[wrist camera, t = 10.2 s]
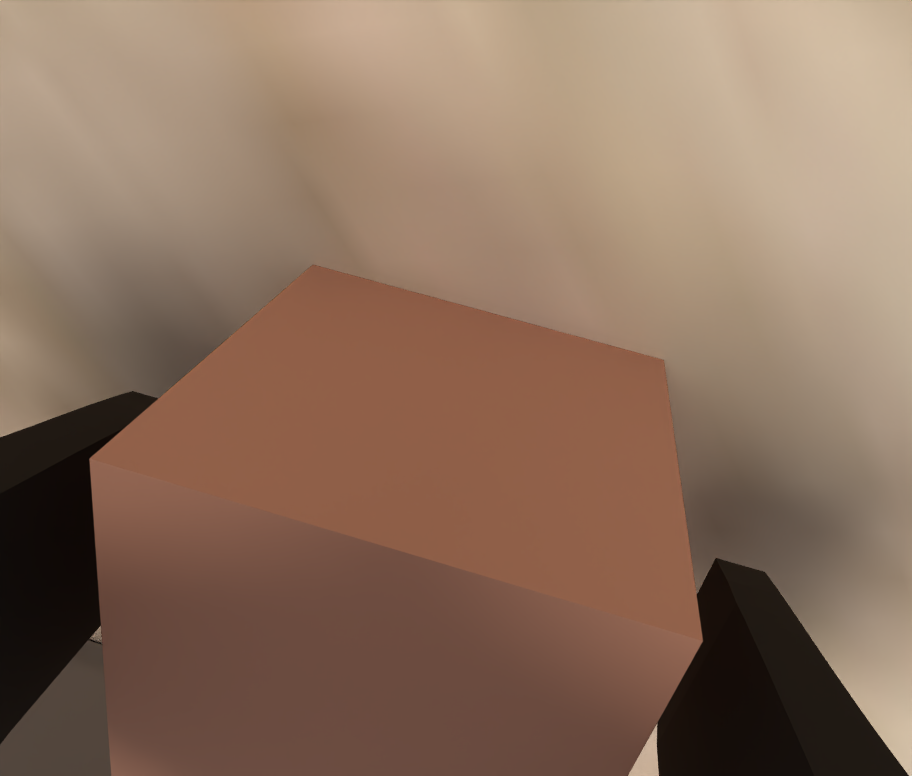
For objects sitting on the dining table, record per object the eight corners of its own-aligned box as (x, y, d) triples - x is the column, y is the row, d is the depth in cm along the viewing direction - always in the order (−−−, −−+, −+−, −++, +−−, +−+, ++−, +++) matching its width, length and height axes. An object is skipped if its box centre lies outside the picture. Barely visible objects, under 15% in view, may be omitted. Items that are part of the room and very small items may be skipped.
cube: (285, 527, 13) (113, 803, 8) (315, 262, 10) (89, 459, 6) (562, 610, 12) (533, 943, 8) (663, 357, 10) (702, 641, 5)
